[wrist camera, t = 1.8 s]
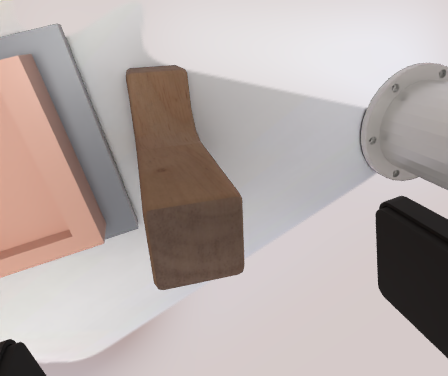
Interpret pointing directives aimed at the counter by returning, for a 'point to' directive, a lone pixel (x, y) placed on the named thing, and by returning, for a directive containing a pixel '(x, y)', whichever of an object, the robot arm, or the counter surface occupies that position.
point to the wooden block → (181, 185)
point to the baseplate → (77, 119)
